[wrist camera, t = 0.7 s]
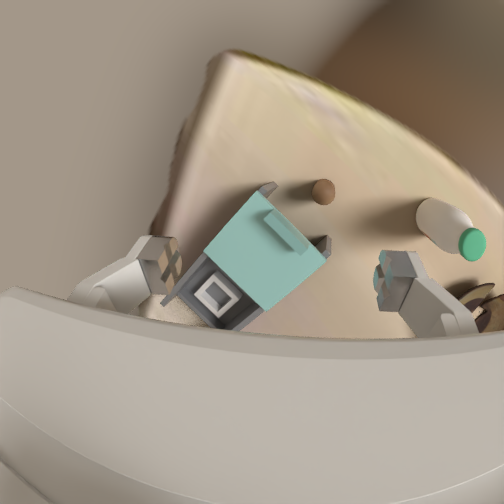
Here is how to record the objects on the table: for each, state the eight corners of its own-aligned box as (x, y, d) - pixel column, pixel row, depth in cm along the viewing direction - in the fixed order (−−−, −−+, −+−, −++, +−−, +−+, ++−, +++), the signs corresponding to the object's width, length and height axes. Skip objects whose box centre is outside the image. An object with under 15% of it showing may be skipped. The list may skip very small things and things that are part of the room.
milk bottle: (407, 217, 48) (443, 248, 30) (430, 189, 44) (476, 206, 26) (431, 242, 48) (470, 283, 29) (453, 215, 44) (502, 244, 26)
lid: (326, 259, 45) (325, 267, 42) (267, 309, 52) (262, 320, 48) (257, 190, 45) (250, 193, 41) (205, 249, 51) (195, 256, 48)
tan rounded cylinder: (338, 189, 50) (340, 193, 44) (324, 203, 52) (323, 209, 46) (324, 174, 50) (323, 176, 44) (310, 189, 52) (306, 193, 45)
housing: (331, 239, 54) (330, 254, 45) (226, 329, 69) (211, 352, 60) (273, 181, 53) (262, 186, 45) (180, 285, 68) (160, 303, 60)
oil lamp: (471, 255, 45) (486, 268, 38) (521, 316, 43) (533, 331, 36) (410, 329, 55) (417, 348, 48) (469, 373, 53) (476, 391, 46)
